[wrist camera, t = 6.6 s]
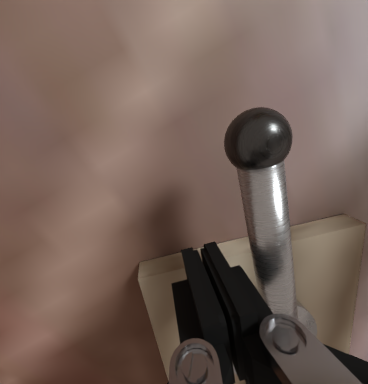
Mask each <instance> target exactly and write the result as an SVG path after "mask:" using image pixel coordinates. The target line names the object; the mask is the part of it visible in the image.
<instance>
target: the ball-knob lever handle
mask: <svg viewBox="0 0 368 384" xmlns="http://www.w3.org/2000/svg"><path fill="white" fill-rule="evenodd" d="M291 145H292V130H291V127H290V125H289V123H288V121H287V120H286V118H285V117H284V116H283V115H282V114H280V113H279V112H277V111H275V110H273V109H270V108H264V107H259V108H252V109H249V110H246V111H244V112H242V113H241V114H239V115H238V116H237V117H236V118H235V119H234V120H233V121H232V122H231V124H230V125H229V127H228V129H227V131H226V134H225V139H224V147H225V152H226V155H227V157H228V159H229V160H230V162H231V163H232V164H233V165H234V166H235V167H236V168H237V173H238V179H239V185H240V190H241V196H242V202H243V208H244V214H245V220H246V226H247V232H248V237H249V243H250V249H251V255H252V261H253V267H254V273H255V278H256V284H257V290H258V292H259V293H260V295H261V296H262V298H263V299H264V301H265V302H266V304H267V305H268V307H269V308H270V309H271V311H272V312H273V314H285V315H289V316H291V317H293V318H295V319H297V320H298V321H300V322H301V323H302V324H303V325H304V326H305V327H306V328H307V329H308V330H309V331H310V332H311V333H312V334H313V335H314V336H315V337H316V336H317V325H316V322H315V320H314V318H313V316H312V315H311V314H310V313H309V312H308V311H307V309H306V308H305V307H304V306H303V305H302V304H301V303H300V302H299V301H298V300H297V298H296V287H295V276H294V265H293V254H292V243H291V232H290V220H289V209H288V198H287V187H286V176H285V165H284V159H285V158H286V157H287V155H288V153H289V151H290V149H291ZM232 363H233V362H232ZM233 369H234V373H235V374H236V375H237V373H236V371H235V368H234V365H233Z"/></svg>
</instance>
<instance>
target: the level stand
mask: <svg viewBox="0 0 368 384" xmlns="http://www.w3.org/2000/svg"><path fill="white" fill-rule="evenodd" d="M365 228H366V223H364V222H361V221H359V220H357V219H355V218H352V217H350V216H348V215H346V214H342V215H337V216H333V217H329V218H325V219H320V220H316V221H312V222H308V223H303V224H299V225H295V226H291V227H290V232H291V243H292V254H293V265H294V276H295V287H296V298H297V300H298V301H299V302H300V303H301V304H302V305H303V306H304V307H305V308H306V309H307V311H308V312H309V313H310V314H311V315H312V316H313V318H314V320H315V322H316V325H317V336H316V338H317V339H318V340H319V341H320V342H321V343H322V344H325V345H327V346H330V347H332V348H335V349H337V350H340V351H342V352H345V353H347V354H349V348H350V341H351V333H352V326H353V318H354V311H355V303H356V296H357V288H358V281H359V273H360V266H361V258H362V251H363V243H364V236H365ZM217 245H218V247H219V249H220V250H221V252H222V254H223V255H224V257H225V259H226V260H227V262H228V264H229V265H230V267H234V266H238V265H240V266H241V267H242V268H243V270H244V271H245V273H246V274H247V276H248V277H249V279H250V280H251V282H252V283H253V285H254V286H255V287H256V289H257V284H256V278H255V273H254V267H253V261H252V255H251V249H250V243H249V237H244V238H240V239H236V240H231V241H227V242H223V243H219V244H217ZM202 248H204V247H202ZM200 249H201V248H198V249H197V250H198V252H199V255H200V257H201V260H202V256H201V250H200ZM193 250H196V249H193ZM186 279H187V276H186V272H185V267H184V262H183V258H182V253H176V254H172V255H168V256H164V257H159V258H155V259H151V260H147V261H143V262H139V273H138V281H139V285H140V288H141V291H142V295H143V298H144V301H145V305H146V308H147V311H148V315H149V318H150V321H151V325H152V328H153V331H154V335H155V338H156V341H157V345H158V348H159V352H160V355H161V358H162V362H163V365H164V368H165V372H166V375H167V378H168V381H169V366H170V360H171V357H172V355H173V353H174V350H175V349H176V348H177V347H178V346H179V345H180V340H179V333H178V326H177V319H176V312H175V306H174V299H173V292H172V285H171V283H174V282H178V281H182V280H186ZM234 376H235V383H234V384H246V382H245V380H242V381H239V379H238V376H237V375H236V374H235V373H234Z"/></svg>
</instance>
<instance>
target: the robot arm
mask: <svg viewBox="0 0 368 384" xmlns="http://www.w3.org/2000/svg"><path fill="white" fill-rule="evenodd" d="M200 250H201V256H202V260H201V257H200V255H199V252H198V250H197V249H196V250H193V248H188V249H184V250H181V253H182V258H183V262H184V267H185V272H186V276H187V279H186V280H182V281H178V282H174V283H171V285H172V292H173V299H174V306H175V312H176V319H177V326H178V333H179V340H180V345H179V346H178V347H177V348H176V349H175V350H174V353H173V355H172V357H171V360H170V366H169V381H168V383H167V384H234V383H235V376H234V369H233V365H234V368H235V371H236V373H237V376H238V379H239V381H242V380H245V382H246V384H368V362H367V361H364V360H362V359H359V358H357V357H354V356H352V355H349V354H347V353H345V352H342V351H340V350H337V349H335V348H332V347H330V346H327V345H325V344H322V343H321V342H320V341H319V340H318V339H317V338H316V337H315V336H314V335H313V334H312V333H311V332H310V331H309V330H308V329H307V328H306V327H305V326H304V325H303V324H302V323H301V322H300V321H298V320H297V319H295V318H293V317H291V316H289V315H285V314H273V312H272V311H271V309H270V308H269V307H268V305H267V304H266V302H265V301H264V299H263V298H262V296H261V295H260V293H259V292H258V290H257V289H256V287H255V286H254V285H253V283H252V282H251V280H250V279H249V277H248V276H247V274H246V273H245V271H244V270H243V268H242V267H241V266H240V265H238V266H234V267H230V265H229V264H228V262H227V260H226V259H225V257H224V255H223V254H222V252H221V250H220V249H219V247H218V245H217V244H216V242H211V243H207V244H204V248H201V249H200ZM232 362H233V363H232Z"/></svg>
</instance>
